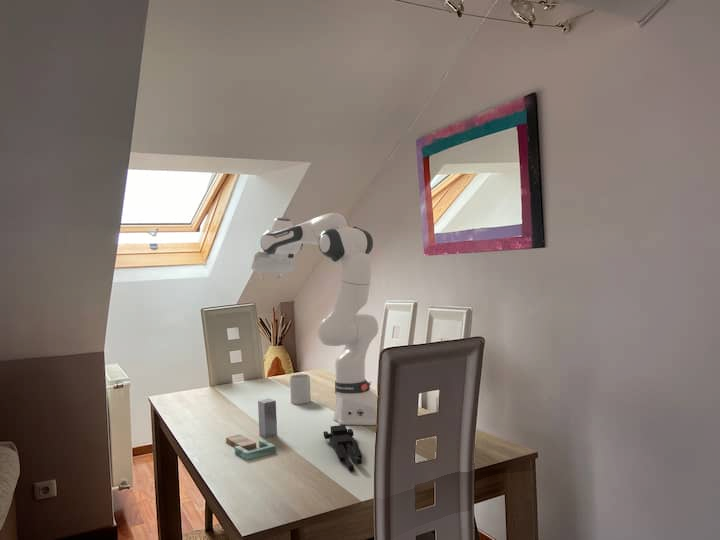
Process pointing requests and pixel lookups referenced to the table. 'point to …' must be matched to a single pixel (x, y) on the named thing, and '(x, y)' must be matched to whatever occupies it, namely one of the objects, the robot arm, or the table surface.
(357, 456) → the toy
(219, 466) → the table surface
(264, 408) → the block
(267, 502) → the table surface
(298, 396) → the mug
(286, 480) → the table surface
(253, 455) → the tray
